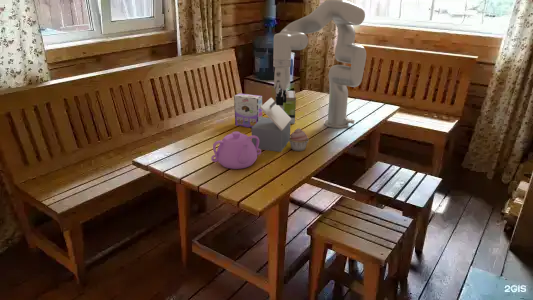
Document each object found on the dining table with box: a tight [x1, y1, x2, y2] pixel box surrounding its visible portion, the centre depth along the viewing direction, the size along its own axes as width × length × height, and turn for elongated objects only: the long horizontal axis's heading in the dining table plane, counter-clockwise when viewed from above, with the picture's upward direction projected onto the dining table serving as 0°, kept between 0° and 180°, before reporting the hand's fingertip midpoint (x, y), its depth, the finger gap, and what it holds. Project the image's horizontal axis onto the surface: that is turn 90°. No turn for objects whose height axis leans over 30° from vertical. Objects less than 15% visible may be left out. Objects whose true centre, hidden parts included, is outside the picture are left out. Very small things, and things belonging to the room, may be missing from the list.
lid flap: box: [260, 95, 291, 131], centre depth 187 cm, size 14×16×9 cm
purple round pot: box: [210, 130, 262, 170], centre depth 171 cm, size 22×22×14 cm
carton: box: [251, 116, 291, 153], centre depth 194 cm, size 14×16×10 cm
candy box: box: [233, 92, 263, 129], centre depth 217 cm, size 14×6×16 cm, turn 65°
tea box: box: [279, 90, 297, 125], centre depth 226 cm, size 15×10×15 cm
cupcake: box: [288, 127, 310, 152], centre depth 188 cm, size 9×9×10 cm
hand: (281, 103), depth 187 cm, fingers closed on lid flap, 4 cm apart
